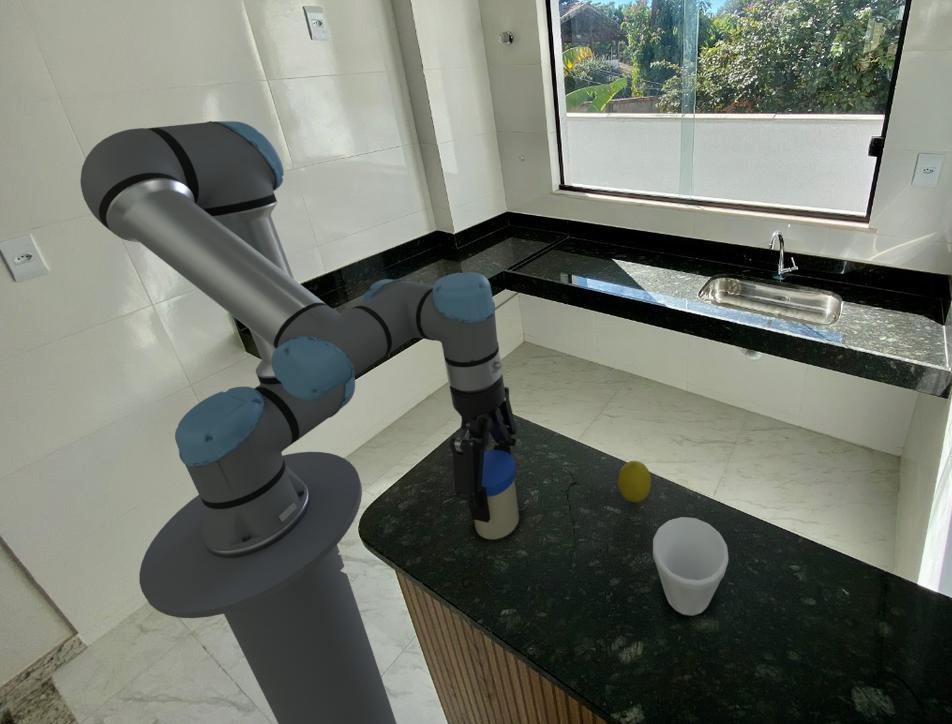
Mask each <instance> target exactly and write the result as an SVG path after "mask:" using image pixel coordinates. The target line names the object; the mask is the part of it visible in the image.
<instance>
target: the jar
mask: <svg viewBox="0 0 952 724" xmlns="http://www.w3.org/2000/svg"><path fill="white" fill-rule="evenodd" d="M517 495H518V494H517V488H516V478H515V479H514V481H513V483H512V484H511V485H510V486H509V487H508V488H507V489H506V490H504V491H503V492H501V493H499V494H496V495H493V496H487V501H488V507H489V513H490V520H489V522H488V523H487V522H482V521H478V520H474V519H473V523H474V529H475V531H476V533H477V534H478V535H479V536H480V537H481V538H484V539H487V540H498V539H499V540H500V539H502V538H505V537H506V536H508V535H510V534H511V533H512V532H513V531H514V530H515V529H516V527H517V526H518V524H519V521H520V513H519V512H520V511H519V504H518V496H517Z"/></svg>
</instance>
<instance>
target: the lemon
mask: <svg viewBox="0 0 952 724" xmlns="http://www.w3.org/2000/svg"><path fill="white" fill-rule="evenodd" d="M617 483H618V490H619V492H620V494H621V496H622V497H623V498H624V499H625V500H626V501H628V502H630V503H640V502H642V501H644V500H645V499H646V498H647V497H648V495H649V494H650V491H651V488H652V477H651V474H650V471H649V469H648V467H647V466H646V465H645V464H644V463H643V462H641V461H638V460H630V461H628V462H626V463H625V464H624V465H623V466H622V467H621V469H620V470H619V474H618V481H617Z"/></svg>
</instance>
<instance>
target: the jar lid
mask: <svg viewBox="0 0 952 724" xmlns="http://www.w3.org/2000/svg"><path fill="white" fill-rule="evenodd" d="M516 474H517V469H516V462H515V459H514V457H513V456H512V454H511V455H510V454H508V453H507V452H505V451H501V450H494V449H490V450H489V449H488V450H485V451H484V463H483V476H482V486H484V487H485V488H486V494H487V496H493V495H496V494H499V493H501V492H503V491H504V490H506V489H507V488H508V487H509V486H510V485H511V484H512V483H513V481H514V479H515V480H516Z"/></svg>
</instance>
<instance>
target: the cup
mask: <svg viewBox="0 0 952 724" xmlns="http://www.w3.org/2000/svg"><path fill="white" fill-rule="evenodd" d="M652 559H653V561H654V563H655V565H656V570H657V573H658V576H659V579H660V582H661V586H662V588H663V589H662V590H663V592H664V595H665V597H666V600H667V602H668V604H669V605H670V606H671V608H672V609H673V610H674V611H675V612H677V613H679V614H681V615H683V616H690V617H693V616H697V615H700V614H702V613H703V612H704V611H705V610H706V609H707V608H708V606H709V605H710V603H711V601H712V599H713V597H714V595H715V593H716V591H717V589H718V587H719V585H720V582H721V581H722V579H723V578H724V577H725V574H726V571H727V568H728V565H729V551H728V545H727V543H726V542H725V539H724V538H723V536H722V534H721V533H720V532H719V531H717V529H716V528H714V527H713V526H712V525H711V524H709V523H708V522H706V521H703V520H700V519H698V518H696V517H685V516H680V517H677V518H672V519H669V520H668V521H666V522H664V523H663V524H662V525H661V526H660V527H658V529H657V531H656V532H655V534H654V537H653V538H652Z"/></svg>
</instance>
